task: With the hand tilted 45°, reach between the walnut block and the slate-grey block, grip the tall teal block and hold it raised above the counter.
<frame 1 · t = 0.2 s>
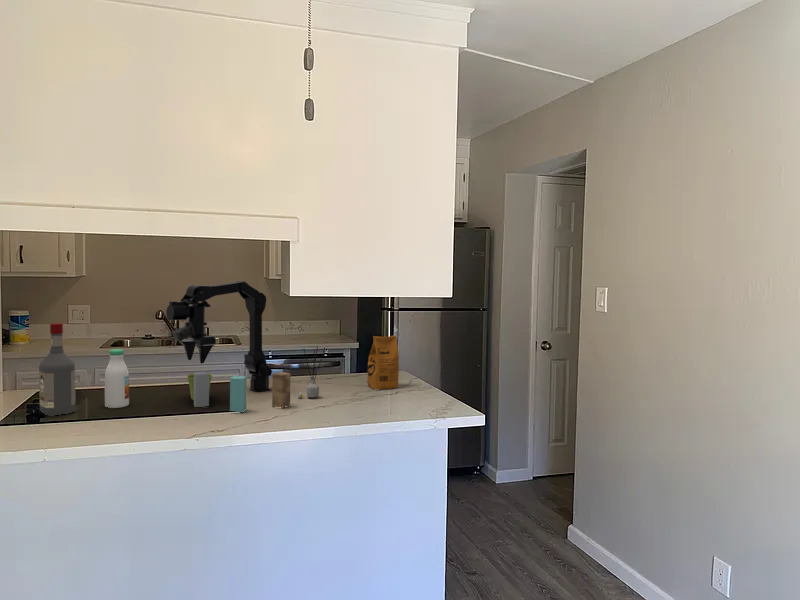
hand: (195, 361, 217), 15 cm above the countertop, tool pointing down, fingers open, 9 cm apart
teal block: (238, 411, 205), on the countertop
plant pot: (199, 399, 222), on the countertop
slate block: (201, 406, 211), on the countertop
liquor: (57, 413, 198), on the countertop
walnut block: (281, 406, 213), on the countertop
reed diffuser: (311, 399, 226), on the countertop
milk bottle: (117, 406, 208), on the countertop
coffee package: (382, 387, 249), on the countertop
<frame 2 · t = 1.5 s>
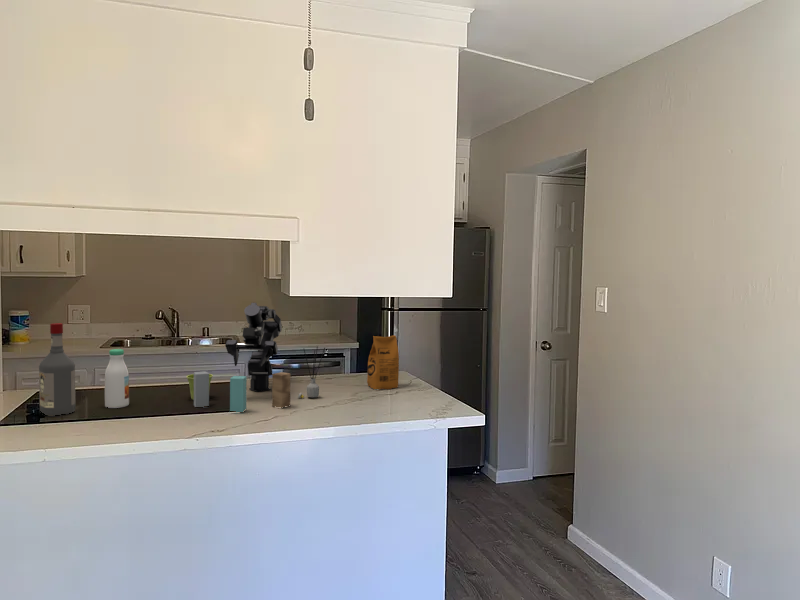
hand: (247, 365, 218), 14 cm above the countertop, tool tilted 45°, fingers open, 9 cm apart
nothing on the countertop moved.
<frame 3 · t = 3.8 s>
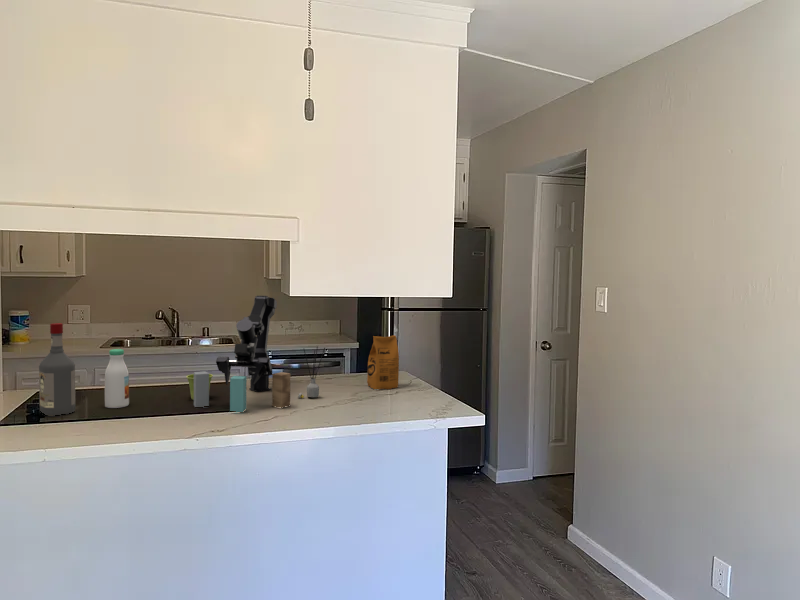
hand: (239, 384, 206), 9 cm above the countertop, tool tilted 45°, fingers open, 9 cm apart
nothing on the countertop moved.
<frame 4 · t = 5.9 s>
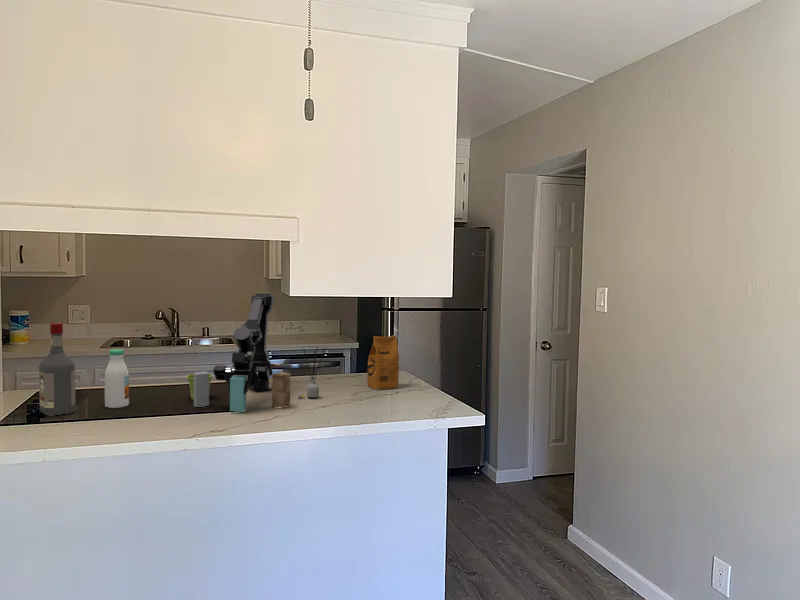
hand: (237, 393, 203), 7 cm above the countertop, tool tilted 45°, fingers closed on teal block, 4 cm apart
teal block: (238, 411, 205), on the countertop, touching gripper
everything else where it was.
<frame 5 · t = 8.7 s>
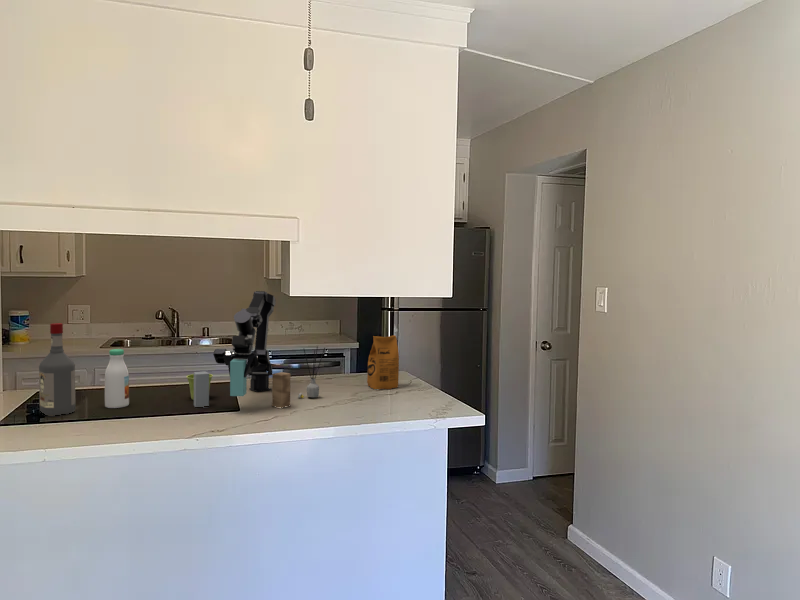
hand: (237, 376, 203), 12 cm above the countertop, tool tilted 45°, fingers closed on teal block, 4 cm apart
teal block: (238, 394, 205), point 6 cm above the countertop, touching gripper
everything else where it was.
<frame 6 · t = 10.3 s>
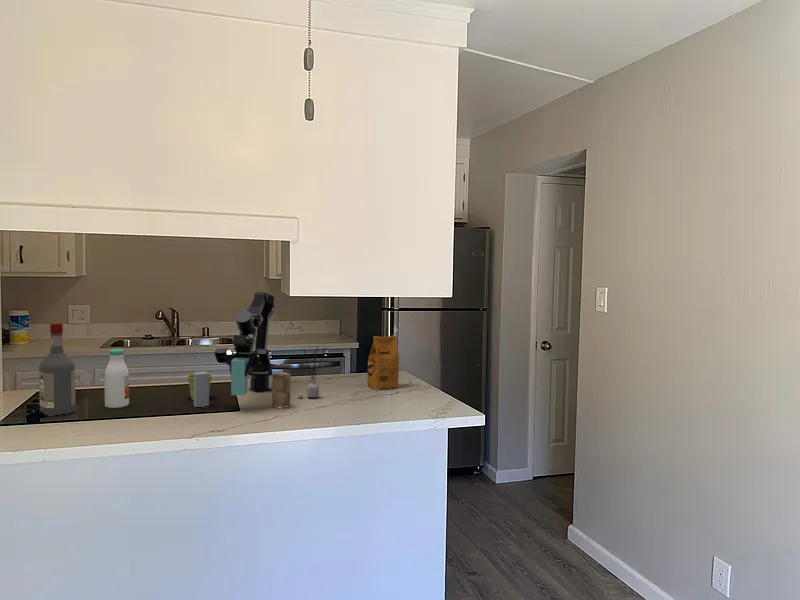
hand: (238, 375, 204), 13 cm above the countertop, tool tilted 45°, fingers closed on teal block, 4 cm apart
teal block: (239, 393, 206), point 6 cm above the countertop, touching gripper
everything else where it was.
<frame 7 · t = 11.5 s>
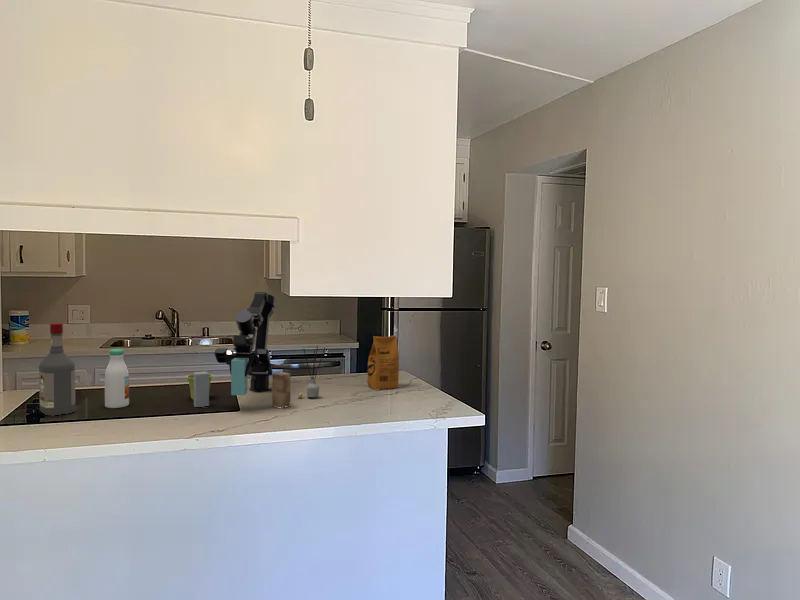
hand: (238, 375, 204), 13 cm above the countertop, tool tilted 45°, fingers closed on teal block, 4 cm apart
teal block: (239, 393, 206), point 6 cm above the countertop, touching gripper
everything else where it was.
at the end: the gripper is holding teal block; teal block point 5.9 cm above the countertop; walnut block moved 0.0 cm from its start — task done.
